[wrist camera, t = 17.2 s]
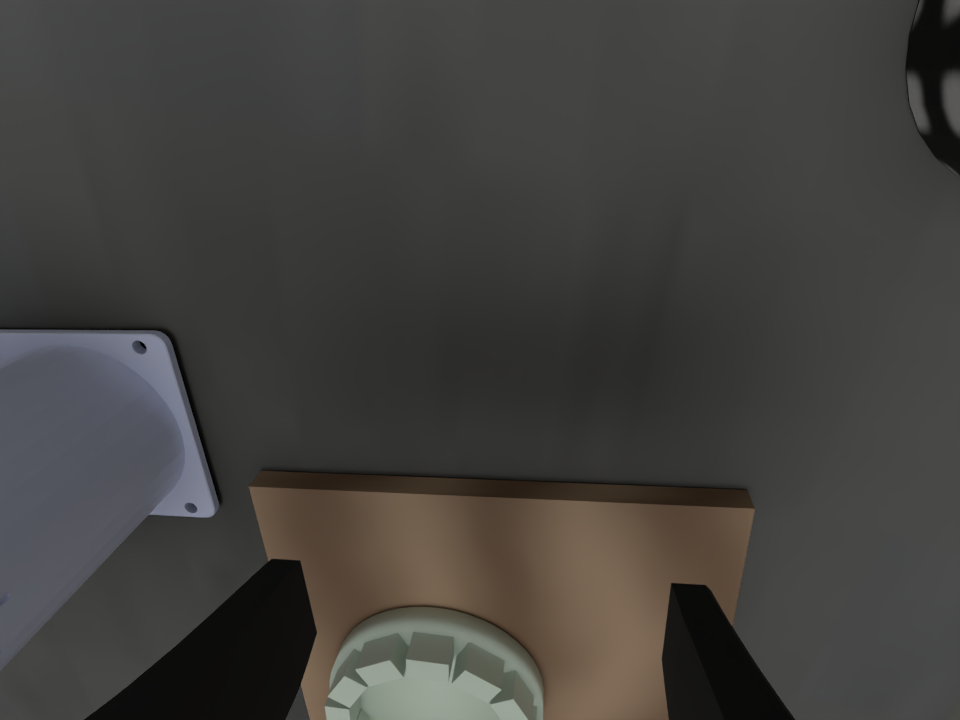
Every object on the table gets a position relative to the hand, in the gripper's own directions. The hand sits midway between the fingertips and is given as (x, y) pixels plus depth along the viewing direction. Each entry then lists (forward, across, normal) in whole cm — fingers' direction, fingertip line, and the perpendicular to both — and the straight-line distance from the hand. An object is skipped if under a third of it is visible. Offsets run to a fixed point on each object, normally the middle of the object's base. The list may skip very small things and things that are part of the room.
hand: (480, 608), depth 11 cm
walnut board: (+9, +1, +14) cm, 17 cm away
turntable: (+8, +1, +16) cm, 18 cm away
